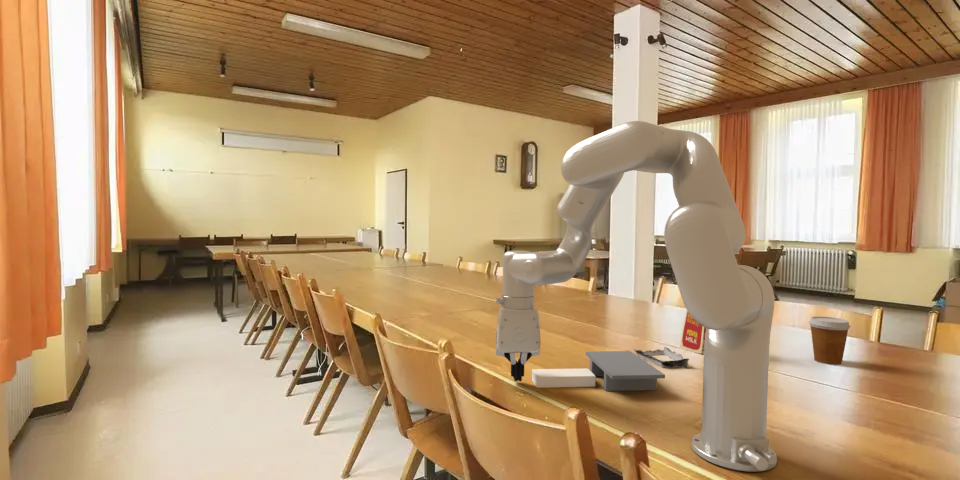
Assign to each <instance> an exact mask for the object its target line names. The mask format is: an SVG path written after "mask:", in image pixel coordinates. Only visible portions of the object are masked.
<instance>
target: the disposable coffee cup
mask: <svg viewBox="0 0 960 480" xmlns="http://www.w3.org/2000/svg"><path fill="white" fill-rule="evenodd" d="M808 324H809V326H810V333H811V342H812V349H813V350H812V351H813V359H814V361H815V362H818V363H821V364H825V365H831V366H832V365H833V366H837V365H838V366H839V365H842V364H843V359H844V353H845V348H846V343H847V338H848V333H849V330H850V329H851V325H850V322H849V320H847V319H843V318H838V317H832V316H811V317H810V319H809V321H808Z"/></svg>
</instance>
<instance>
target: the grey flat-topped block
mask: <svg viewBox="0 0 960 480" xmlns="http://www.w3.org/2000/svg"><path fill="white" fill-rule="evenodd" d="M585 355H586V357H588V358H589V360H590V361H589V370H590V371H591V372H592V373H593V374H594V375H595V376H596V377H603V390H604V391H606V392H613V391H614V392H615V391H617V392H618V391H619V392H621V391H625V392H626V391H657V389H658V387H657V385H658V384H657V383H658V382H657V381H658V379H665V378H666V374H664V373H663V372H661V370H659V369H658V368H656V367H654V366H653V365H652V364H650V363H648V361H646V360H644V359H642V358H640V357H638V356H637V354H636V353H634V352H632V351H631V350H615V351H614V350H611V351H610V350H609V351H606V350H602V351H599V350H598V351H585Z"/></svg>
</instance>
